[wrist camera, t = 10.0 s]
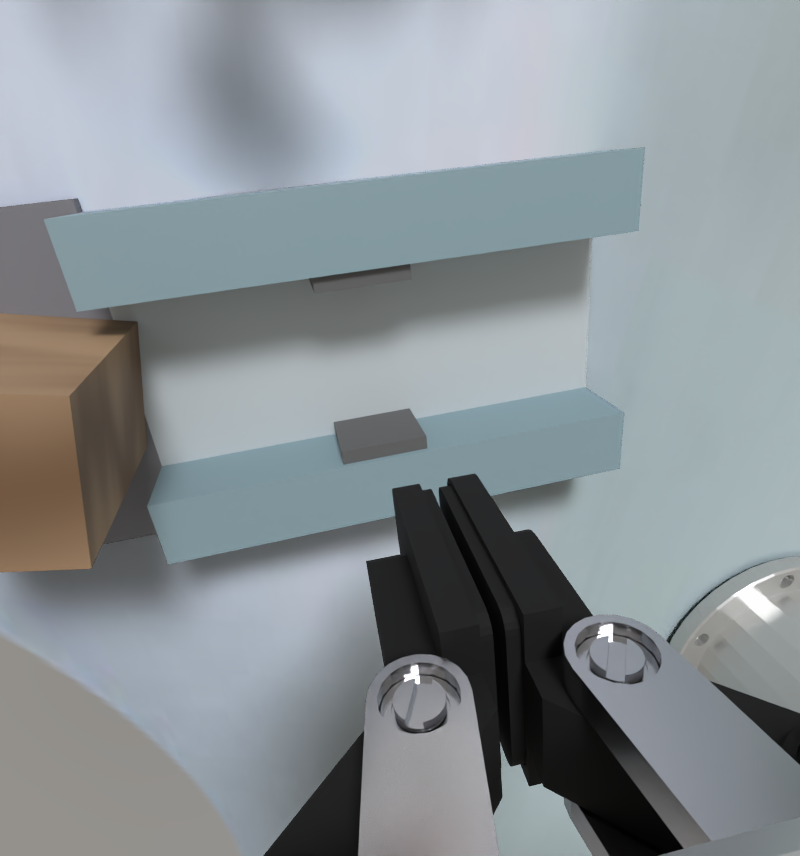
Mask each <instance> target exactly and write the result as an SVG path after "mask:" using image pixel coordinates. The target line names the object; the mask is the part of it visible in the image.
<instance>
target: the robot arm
mask: <svg viewBox="0 0 800 856" xmlns="http://www.w3.org/2000/svg"><path fill="white" fill-rule="evenodd" d="M392 495H393V503H394V510H395V518H396V525H397V532H398V540H399V547H400V554H401V555H395V556H390V557H385V558H380V559H375V560H370V561H366V563H367V569H368V575H369V581H370V587H371V593H372V599H373V605H374V611H375V616H376V622H377V628H378V634H379V639H380V645H381V650H382V656H383V661H384V668H383V669H382V670H381V671H380V672H379V673H378V674H376V676H375V678H374V679H373V681H372V683H371V684H370V686H369V688H368V693H367V697H366V704H365V724H364V731H363V733H362V734H361V735H360V736H359V737H358V739H357V740H356V741H355V742H354V744H353V745H352V746H351V747H350V749H349V750H348V751H347V752H346V754H345V755H344V756H343V757H342V759H341V760H340V761H339V762H338V764H337V765H336V766H335V767H334V769H333V770H332V771H331V772H330V774H329V775H328V776H327V777H326V779H325V780H324V781H323V782H322V784H321V785H320V786H319V787H318V789H317V790H316V791H315V792H314V794H313V795H312V796H311V797H310V799H309V800H308V801H307V802H306V804H305V805H304V806H303V807H302V808H301V810H300V811H299V812H298V813H297V815H296V816H295V817H294V818H293V820H292V821H291V822H290V823H289V825H288V826H287V827H286V828H285V830H284V831H283V832H282V833H281V835H280V836H279V837H278V838H277V840H276V841H275V842H274V843H273V845H272V846H271V847H270V848H269V850H268V851H267V852H266V853H265V855H264V856H500V855H499V849H498V843H497V837H496V831H495V825H494V819H493V814H494V812H495V810H496V808H497V806H498V805H499V803H500V801H501V799H502V783H501V754H500V743H501V745H502V748H503V751H504V753H505V756H506V759H507V761H508V763H509V765H510V766H515V765H519V764H521V767H522V769H523V772H524V774H525V777H526V779H527V782H528V784H529V786H533V785H537V784H541V783H542V784H543V786H544V787H545V788H547V789H549V790H551V791H553V792H555V793H557V794H558V795H560V796H562V797H564V805H565V807H566V809H567V812H568V814H569V816H570V819H571V820H572V822H573V824H574V825H575V827H576V829H577V830H578V832H579V834H580V835H581V837H582V839H583V840H584V842H585V844H586V845H587V847H588V849H589V850H590V852H591V854H592V855H593V856H800V557H787V558H782V559H778V560H773V561H769V562H766V563H763V564H761V565H758V566H755V567H753V568H750V569H748V570H746V571H744V572H742V573H741V574H739V575H737V576H735V577H733V578H731V579H730V580H728V581H727V582H725V583H724V584H722V585H721V586H720V587H718V588H717V589H715V590H714V591H713V592H711V593H710V594H709V595H708V596H707V597H706V598H705V599H704V600H702V601H701V602H700V603H699V604H698V605H697V606H696V607H695V608H694V609H693V610H692V612H691V613H690V614H689V615H688V616H687V617H686V618H685V619H684V621H683V622H682V624H681V625H680V627H679V628H678V630H677V631H676V633H675V634H674V636H673V637H672V639H671V641H670V644H669V643H668V642H667V641H666V640H665V639H664V638H663V637H662V636H661V635H659V634H658V633H657V632H655V631H654V630H653V629H651V628H650V627H648V626H647V625H645V624H643V623H640V622H638V621H636V620H634V619H631V618H627V617H623V616H618V615H596V616H593V615H592V614H591V612H590V611H589V609H588V608H587V607H586V605H585V604H584V602H583V601H582V600H581V598H580V597H579V595H578V594H577V593H576V591H575V590H574V588H573V587H572V585H571V584H570V583H569V581H568V580H567V578H566V577H565V576H564V574H563V573H562V571H561V570H560V569H559V567H558V566H557V564H556V563H555V561H554V560H553V559H552V557H551V556H550V554H549V553H548V552H547V550H546V549H545V547H544V546H543V545H542V543H541V542H540V540H539V539H538V537H537V536H536V535H535V534H534V533H533V531H532V530H523V531H518V532H514V531H513V530H512V528H511V527H510V525H509V524H508V522H507V521H506V519H505V518H504V516H503V514H502V513H501V511H500V510H499V508H498V507H497V505H496V504H495V502H494V501H493V499H492V497H491V496H490V494H489V493H488V491H487V490H486V488H485V487H484V485H483V484H482V482H481V480H480V479H479V477H478V476H477V475H476V474H469V475H463V476H458V477H452V478H448V480H447V486H443V487H439V502H440V506H439V504H438V502H437V500H436V497H435V495H434V493H433V491H432V489H427V490H422V488H421V486H420V484H414V485H409V486H403V487H398V488H392Z"/></svg>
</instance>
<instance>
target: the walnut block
mask: <svg viewBox="0 0 800 856" xmlns="http://www.w3.org/2000/svg"><path fill="white" fill-rule="evenodd" d="M146 448H147V442H146V429H145V415H144V401H143V388H142V374H141V360H140V346H139V333H138V321H121V320H104V319H87V318H70V317H53V316H36V315H19V314H3V313H0V572H21V571H46V570H72V569H92V566H93V564H94V562H95V560H96V558H97V555H98V553H99V551H100V549H101V547H102V544H103V542H104V540H105V538H106V536H107V533H108V531H109V529H110V527H111V525H112V522H113V520H114V518H115V516H116V514H117V511H118V509H119V507H120V505H121V503H122V500H123V498H124V496H125V494H126V492H127V490H128V487H129V485H130V483H131V481H132V479H133V476H134V474H135V472H136V470H137V468H138V465H139V463H140V461H141V459H142V457H143V454H144V452H145V450H146Z"/></svg>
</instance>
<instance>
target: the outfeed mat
mask: <svg viewBox="0 0 800 856" xmlns="http://www.w3.org/2000/svg"><path fill="white" fill-rule="evenodd" d="M81 212H82V210H81V207H80V204H79V201H78V198H77V199H68V200H59V201H51V202H42V203H33V204H25V205H16V206H7V207H0V313H3V314H19V315H36V316H53V317H70V318H87V319H104V320H113V318H112V315H111V312H110V309H109V307H107V308H100V309H93V310H86V311H79V312H77V311H76V308H75V305H74V302H73V300H72V297H71V294H70V291H69V289H68V286H67V283H66V280H65V278H64V275H63V272H62V269H61V266H60V264H59V261H58V258H57V255H56V253H55V250H54V247H53V244H52V242H51V239H50V236H49V233H48V230H47V228H46V225H45V222H44V219H48V218H54V217H59V216H65V215H70V214H76V213H81ZM144 415H145V414H144ZM145 429H146V442H147V448H146V450H145V452H144V454H143V457H142V459H141V461H140V463H139V465H138V468H137V470H136V472H135V474H134V476H133V479H132V481H131V483H130V485H129V487H128V490H127V492H126V494H125V496H124V498H123V500H122V503H121V505H120V507H119V509H118V511H117V514H116V516H115V518H114V520H113V522H112V525H111V527H110V529H109V531H108V533H107V536H106V538H105V540H104V542H103V544H108V543H112V542H117V541H122V540H127V539H132V538H137V537H142V536H147V535H152V534H157V532H156V530H155V527H154V524H153V521H152V519H151V516H150V513H149V510H148V508H147V505H148V502H149V500H150V497H151V494H152V492H153V489H154V486H155V484H156V481H157V478H158V476H159V473H160V470H161V468H162V465H161V462H160V459H159V456H158V453H157V450H156V447H155V444H154V441H153V438H152V435H151V432H150V429H149V426H148V423H147V420H146V417H145ZM103 544H102V545H103Z"/></svg>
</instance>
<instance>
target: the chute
mask: <svg viewBox="0 0 800 856" xmlns="http://www.w3.org/2000/svg"><path fill="white" fill-rule="evenodd" d="M644 152H645V147H644V148H632V149H620V150H607V151H595V152H585V153H576V154H568V155H560V156H551V157H543V158H534V159H526V160H518V161H509V162H501V163H492V164H484V165H476V166H467V167H459V168H450V169H442V170H434V171H425V172H417V173H408V174H400V175H392V176H383V177H375V178H366V179H358V180H350V181H341V182H333V183H324V184H316V185H308V186H299V187H291V188H283V189H274V190H266V191H257V192H249V193H241V194H232V195H224V196H215V197H207V198H199V199H190V200H182V201H173V202H165V203H157V204H148V205H140V206H131V207H123V208H115V209H106V210H98V211H89V212H81V213H76V214H70V215H65V216H59V217H54V218H48V219H44V222H45V225H46V228H47V230H48V233H49V236H50V239H51V242H52V244H53V247H54V250H55V253H56V255H57V258H58V261H59V264H60V266H61V269H62V272H63V275H64V278H65V280H66V283H67V286H68V289H69V291H70V294H71V297H72V300H73V302H74V305H75V308H76V311H77V312H79V311H86V310H93V309H100V308H107V307H109V309H110V312H111V315H112V318H113V320H121V321H138V333H139V346H140V360H141V374H142V388H143V401H144V414H145V417H146V420H147V423H148V426H149V429H150V432H151V435H152V438H153V441H154V444H155V447H156V450H157V453H158V456H159V459H160V462H161V465H162V468H161V470H160V473H159V476H158V478H157V481H156V484H155V486H154V489H153V492H152V494H151V497H150V500H149V502H148V505H147V508H148V510H149V513H150V516H151V519H152V521H153V524H154V527H155V530H156V532H157V535H158V538H159V541H160V544H161V546H162V549H163V552H164V555H165V557H166V560H167V563H168V565H169V564H174V563H178V562H183V561H188V560H192V559H197V558H202V557H206V556H211V555H216V554H221V553H225V552H230V551H235V550H239V549H244V548H249V547H253V546H258V545H263V544H267V543H272V542H277V541H282V540H286V539H291V538H296V537H300V536H305V535H310V534H314V533H319V532H324V531H329V530H333V529H338V528H343V527H347V526H352V525H357V524H361V523H366V522H371V521H376V520H380V519H385V518H390V517H394V516H395V510H394V503H393V495H392V488H398V487H403V486H409V485H414V484H420V486H421V488H422V490H427V489H432V491H433V493H434V495H435V497H436V500H437V502H438V504H439V506H440V502H439V487H443V486H447V480H448V478H452V477H458V476H463V475H469V474H476V475H477V476H478V477H479V479H480V480H481V482H482V484H483V485H484V487H485V488H486V490H487V491H488V493H489V494H490V496H493V495H498V494H502V493H507V492H512V491H516V490H521V489H526V488H531V487H535V486H540V485H545V484H549V483H554V482H559V481H563V480H568V479H573V478H577V477H582V476H587V475H592V474H596V473H601V472H606V471H610V470H615V469H620V459H621V446H622V434H623V421H624V412H623V411H621V410H620V409H618V408H617V407H615V406H614V405H612V404H611V403H609V402H608V401H606V400H605V399H603V398H601V397H600V396H598V395H597V394H595V393H594V392H592V391H591V390H589V389H588V388H586V365H587V343H588V320H589V297H590V274H591V252H592V238H593V237H600V236H607V235H614V234H621V233H628V232H635V231H638V229H639V216H640V204H641V191H642V178H643V165H644Z"/></svg>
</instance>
